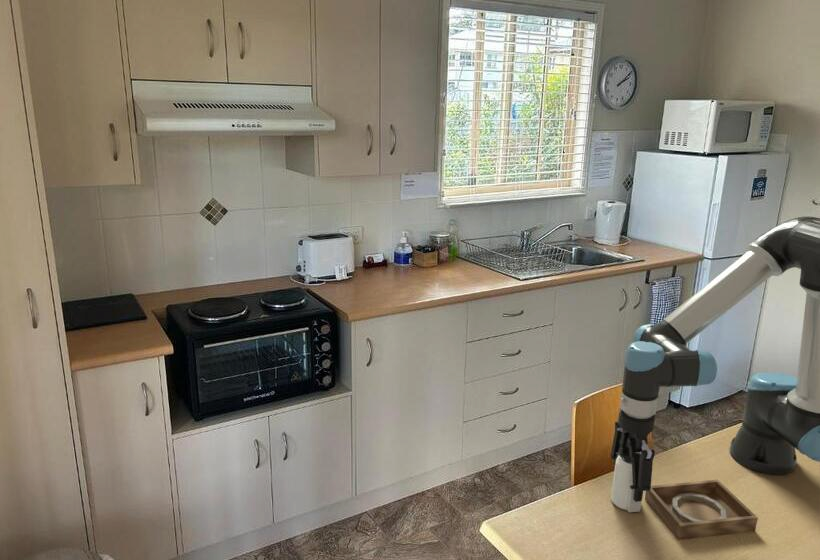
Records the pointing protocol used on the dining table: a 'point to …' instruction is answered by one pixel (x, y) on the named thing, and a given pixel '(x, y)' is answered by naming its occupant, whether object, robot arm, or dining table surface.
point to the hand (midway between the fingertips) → (625, 500)
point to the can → (622, 480)
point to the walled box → (700, 509)
